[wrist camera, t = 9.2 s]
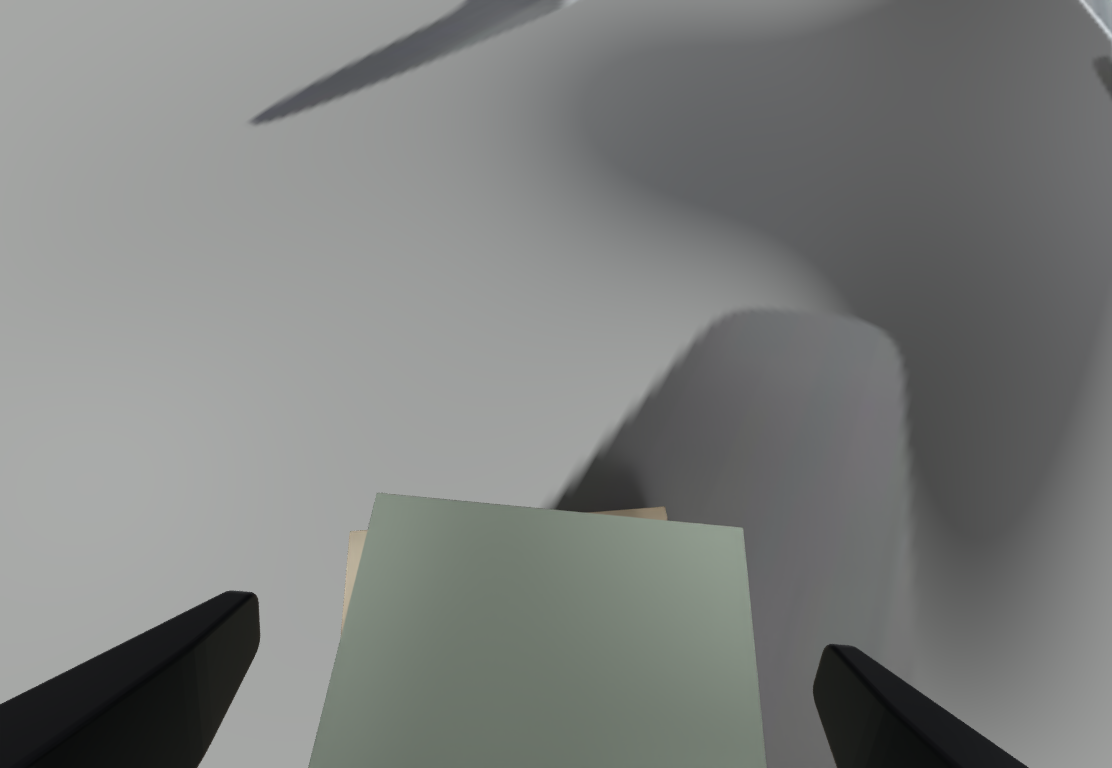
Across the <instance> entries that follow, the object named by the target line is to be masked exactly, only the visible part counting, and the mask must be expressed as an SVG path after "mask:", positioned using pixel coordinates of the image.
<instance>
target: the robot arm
mask: <svg viewBox="0 0 1112 768" xmlns="http://www.w3.org/2000/svg"><path fill="white" fill-rule="evenodd" d="M259 642H260V622H259V602H258V598H257V596H256V595H255V594H254V593H252V592H243V591H226V592H224V593H222V594H220V595H218V596H216V597H214V598H212V599H210V600H208V601H206V602H204V603H202V604H200V605H198V606H196V607H194V608H192V609H190V610H188V611H186V612H184V613H182V614H180V615H178V616H176V617H174V618H172V619H170V620H168V621H166V622H164V623H162V624H160V625H158V626H156V627H154V628H152V629H150V630H148V631H146V632H144V633H142V634H140V635H138V636H136V637H134V638H132V639H130V640H128V641H126V642H124V643H122V644H120V645H118V646H116V647H114V648H112V649H110V650H108V651H106V652H104V653H102V654H100V655H98V656H96V657H94V658H92V659H90V660H88V661H86V662H84V663H82V664H80V665H78V666H76V667H74V668H72V669H70V670H68V671H66V672H64V673H62V674H60V675H58V676H56V677H54V678H52V679H50V680H48V681H46V682H44V683H42V684H40V685H38V686H36V687H34V688H32V689H30V690H28V691H26V692H24V693H22V694H20V695H18V696H16V697H14V698H12V699H10V700H8V701H6V702H4V703H2V704H0V768H197V767H198V766H199V764H200V762H201V761H202V758H203V757H204V755H205V753H206V752H207V750H208V748H209V746H210V744H211V742H212V740H213V738H214V736H215V734H216V732H217V730H218V728H219V726H220V724H221V722H222V720H223V718H224V716H225V714H226V712H227V710H228V708H229V706H230V704H231V703H232V700H233V698H234V697H235V694H236V692H237V690H238V689H239V687H240V684H241V682H242V681H243V678H244V677H245V674H246V673H247V671H248V669H249V667H250V665H251V663H252V660H253V659H254V657H255V654H256V652H257V649H258V646H259ZM813 696H814V701H815V705H816V708H817V710H818V713H819V716H820V719H821V722H822V725H823V728H824V731H825V734H826V737H827V740H828V743H829V746H830V749H831V752H832V755H833V758H834V760H835V763H836V766H837V768H1028V767H1027V766H1026V765H1024V764H1023V763H1021V762H1020V761H1018V760H1017V759H1016V758H1014V757H1013V756H1011V755H1010V754H1008V753H1007V752H1005V751H1004V750H1003V749H1001V748H1000V747H998V746H997V745H995V744H994V743H993V742H991V741H990V740H988V739H987V738H985V737H984V736H982V735H981V734H979V733H978V732H977V731H975V730H974V729H972V728H971V727H970V726H968V725H967V724H965V723H964V722H962V721H961V720H959V719H958V718H957V717H955V716H954V715H952V714H951V713H949V712H948V711H947V710H945V709H944V708H942V707H941V706H939V705H938V704H936V703H935V702H934V701H932V700H931V699H929V698H928V697H926V696H925V695H923V694H922V693H921V692H919V691H918V690H916V689H915V688H914V687H912V686H911V685H909V684H908V683H906V682H905V681H903V680H902V679H901V678H899V677H898V676H896V675H895V674H893V673H892V672H891V671H889V670H888V669H886V668H885V667H883V666H882V665H880V664H879V663H878V662H876V661H875V660H873V659H872V658H870V657H869V656H868V655H866V654H865V653H863V652H862V651H860V650H859V649H857V648H856V647H853V646H849V645H838V644H829V645H827V646H826V647H825V648H824V650H823V653H822V656H821V660H820V663H819V667H818V670H817V674H816V677H815V681H814V685H813Z"/></svg>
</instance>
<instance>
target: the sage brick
mask: <svg viewBox="0 0 1112 768" xmlns="http://www.w3.org/2000/svg"><path fill="white" fill-rule="evenodd" d="M308 768H767V767H766V757H765V746H764V736H763V726H762V716H761V706H760V696H759V686H758V675H757V665H756V655H755V645H754V635H753V625H752V615H751V604H750V594H749V584H748V574H747V564H746V554H745V544H744V534H743V528H739V527H729V526H718V525H708V524H698V523H687V522H677V521H666V520H656V519H645V518H635V517H625V516H614V515H604V514H593V513H583V512H573V511H562V510H552V509H541V508H531V507H519V506H510V505H500V504H489V503H479V502H468V501H457V500H447V499H436V498H426V497H416V496H405V495H395V494H384V493H377V494H376V499H375V502H374V506H373V510H372V515H371V519H370V523H369V527H368V531H367V535H366V539H365V543H364V547H363V551H362V555H361V559H360V563H359V567H358V571H357V575H356V579H355V583H354V587H353V591H352V595H351V599H350V603H349V607H348V611H347V615H346V619H345V623H344V627H343V631H342V635H341V639H340V643H339V647H338V651H337V655H336V659H335V663H334V667H333V671H332V675H331V679H330V683H329V687H328V691H327V695H326V699H325V703H324V707H323V711H322V715H321V719H320V723H319V727H318V731H317V735H316V739H315V743H314V747H313V751H312V755H311V759H310V763H309V767H308Z"/></svg>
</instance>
